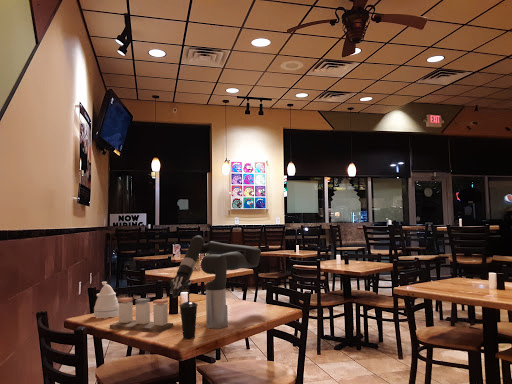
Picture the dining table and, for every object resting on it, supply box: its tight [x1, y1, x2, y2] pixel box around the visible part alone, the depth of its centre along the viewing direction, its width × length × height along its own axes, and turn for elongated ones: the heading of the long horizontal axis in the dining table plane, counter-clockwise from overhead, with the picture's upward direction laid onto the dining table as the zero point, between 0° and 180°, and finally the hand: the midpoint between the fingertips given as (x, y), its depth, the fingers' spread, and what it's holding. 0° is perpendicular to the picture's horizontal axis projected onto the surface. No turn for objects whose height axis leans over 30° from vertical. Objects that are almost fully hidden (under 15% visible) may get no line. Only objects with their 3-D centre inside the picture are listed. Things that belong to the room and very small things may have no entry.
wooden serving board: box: [109, 319, 174, 333], centre depth 194 cm, size 28×11×2 cm, turn 68°
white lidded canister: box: [152, 298, 169, 326], centre depth 191 cm, size 5×4×11 cm
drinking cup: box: [179, 289, 198, 340], centre depth 175 cm, size 8×8×20 cm
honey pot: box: [93, 281, 119, 319], centre depth 222 cm, size 13×13×18 cm
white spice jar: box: [117, 297, 134, 323], centre depth 199 cm, size 5×4×11 cm
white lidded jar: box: [135, 297, 151, 324], centre depth 195 cm, size 5×4×11 cm
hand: (174, 296), depth 204 cm, fingers closed
